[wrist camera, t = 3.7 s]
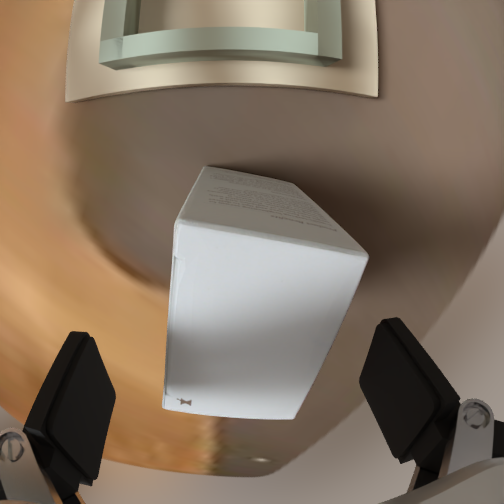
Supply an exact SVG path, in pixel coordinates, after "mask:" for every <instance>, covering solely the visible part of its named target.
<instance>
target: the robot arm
mask: <svg viewBox="0 0 504 504" xmlns="http://www.w3.org/2000/svg"><path fill="white" fill-rule="evenodd" d="M359 383H360V387H361V389H362V391H363V393H364V395H365V397H366V400H367V402H368V404H369V405H370V408H371V410H372V412H373V414H374V416H375V418H376V420H377V422H378V425H379V427H380V429H381V431H382V433H383V435H384V437H385V439H386V442H387V444H388V446H389V448H390V450H391V453H392V455H393V456H394V457H395V458H398V459H399V462H400V464H402V463H405V462H408V461H410V460H413V459H414V460H415V462H416V467H415V471H414V474H413V477H412V479H411V483H410V485H409V488H408V491H407V493H406V494H403V495H401V496H398V497H396V498H393V499H390V500H387V501H385V502H382V503H379V504H504V422H501V421H497V420H494V415H493V412H492V410H491V408H490V407H489V406H488V405H487V404H486V403H485V402H483V401H481V400H479V399H468V400H466V401H464V402H463V403H462V404H460V403H459V400H460V397H459V395H458V394H457V393H456V392H455V390H454V388H453V387H452V386H451V384H450V383H449V382H448V380H447V379H446V377H445V376H444V375H443V373H442V372H441V371H440V369H439V368H438V367H437V365H436V364H435V363H434V361H433V360H432V359H431V357H430V356H429V355H428V353H427V352H426V351H425V350H424V348H423V347H422V346H421V344H420V343H419V342H418V341H417V339H416V338H415V337H414V335H413V334H412V333H411V332H410V330H409V329H408V328H407V327H406V325H405V324H404V323H403V322H402V321H401V319H400V318H398V317H395V318H389V319H383V320H382V321H381V322H380V324H378V325H377V327H376V330H375V333H374V336H373V339H372V343H371V346H370V349H369V352H368V355H367V358H366V361H365V364H364V367H363V370H362V372H361V375H360V379H359ZM115 399H116V394H115V390H114V388H113V385H112V383H111V381H110V378H109V376H108V374H107V371H106V369H105V366H104V364H103V361H102V359H101V356H100V353H99V351H98V348H97V345H96V342H95V340H94V338H93V337H90V335H89V334H88V333H87V332H76V331H72V332H70V333H69V335H68V337H67V339H66V340H65V342H64V344H63V346H62V348H61V350H60V351H59V353H58V355H57V357H56V359H55V361H54V363H53V365H52V367H51V369H50V371H49V373H48V375H47V377H46V379H45V381H44V383H43V385H42V387H41V389H40V391H39V393H38V395H37V397H36V400H35V402H34V404H33V406H32V409H31V411H30V413H29V415H28V418H27V420H26V422H25V425H24V428H23V431H21V430H19V429H17V428H7V429H4V430H3V431H1V432H0V504H85V502H84V501H83V499H82V497H81V496H80V494H79V492H78V488H79V483H80V484H84V485H89V486H92V483H93V480H96V479H97V477H98V474H99V468H100V464H101V459H102V454H103V449H104V445H105V440H106V436H107V432H108V427H109V423H110V419H111V415H112V411H113V407H114V404H115Z"/></svg>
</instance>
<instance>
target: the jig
mask: <svg viewBox="0 0 504 504" xmlns="http://www.w3.org/2000/svg"><path fill="white" fill-rule="evenodd" d="M197 86H269V87H286V88H299V89H310V90H319V91H328V92H335V93H342V94H349V95H355V96H361V97H367V98H372V97H378V43H377V23H376V9H375V0H74V5H73V11H72V17H71V24H70V32H69V41H68V52H67V66H66V93H65V102H68V103H76V102H80V101H85V100H90V99H95V98H101V97H106V96H112V95H118V94H125V93H132V92H139V91H148V90H157V89H167V88H180V87H197Z"/></svg>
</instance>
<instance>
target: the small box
mask: <svg viewBox="0 0 504 504" xmlns="http://www.w3.org/2000/svg"><path fill="white" fill-rule="evenodd" d="M368 260H369V255H368V253H367V252H366V251H365V250H364V249H363V248H362V247H361V246H360V245H359V244H358V243H357V242H356V241H355V240H354V239H353V238H352V237H351V236H350V235H349V234H348V233H347V232H346V231H345V230H344V229H343V228H342V227H341V226H339V225H338V224H337V223H336V222H335V221H334V220H333V219H332V218H331V217H330V216H329V215H328V214H327V213H326V212H325V211H324V210H323V209H322V208H320V207H319V206H318V205H317V204H316V203H315V202H314V201H313V200H312V199H310V198H309V197H308V196H307V195H306V194H305V193H304V192H303V191H302V190H300V189H299V188H298V187H297V186H296V185H295V184H293V183H290V182H286V181H282V180H278V179H273V178H268V177H264V176H259V175H254V174H249V173H244V172H238V171H233V170H228V169H222V168H216V167H209V166H204V167H203V169H202V171H201V173H200V175H199V176H198V178H197V180H196V182H195V184H194V186H193V188H192V189H191V191H190V193H189V195H188V197H187V199H186V201H185V203H184V205H183V207H182V209H181V210H180V213H179V215H178V217H177V219H176V221H175V224H174V241H173V258H172V272H171V284H170V298H169V310H168V325H167V342H166V359H165V379H164V391H163V402H162V407H163V408H164V409H167V410H173V411H179V412H186V413H193V414H201V415H210V416H222V417H233V418H250V419H294V418H295V417H296V415H297V413H298V411H299V410H300V408H301V406H302V404H303V402H304V401H305V399H306V397H307V395H308V393H309V391H310V389H311V387H312V385H313V383H314V382H315V380H316V378H317V375H318V373H319V371H320V369H321V367H322V365H323V363H324V361H325V359H326V357H327V355H328V353H329V351H330V349H331V347H332V345H333V343H334V340H335V338H336V336H337V334H338V331H339V329H340V327H341V325H342V323H343V320H344V318H345V316H346V314H347V311H348V309H349V306H350V304H351V302H352V299H353V297H354V295H355V292H356V290H357V287H358V285H359V282H360V280H361V277H362V275H363V272H364V270H365V267H366V265H367V262H368Z"/></svg>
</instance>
